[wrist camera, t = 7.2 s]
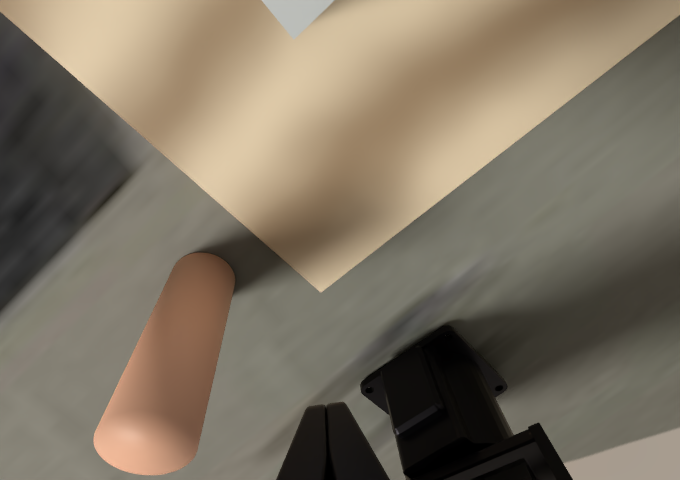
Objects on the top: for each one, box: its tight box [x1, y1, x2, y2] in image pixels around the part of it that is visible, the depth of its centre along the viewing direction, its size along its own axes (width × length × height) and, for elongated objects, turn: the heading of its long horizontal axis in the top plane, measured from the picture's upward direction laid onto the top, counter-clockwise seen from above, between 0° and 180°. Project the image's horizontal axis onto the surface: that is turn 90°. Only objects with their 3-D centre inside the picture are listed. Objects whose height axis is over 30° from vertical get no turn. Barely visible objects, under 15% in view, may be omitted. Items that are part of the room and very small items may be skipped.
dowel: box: [94, 253, 235, 475], centre depth 17 cm, size 3×3×9 cm
